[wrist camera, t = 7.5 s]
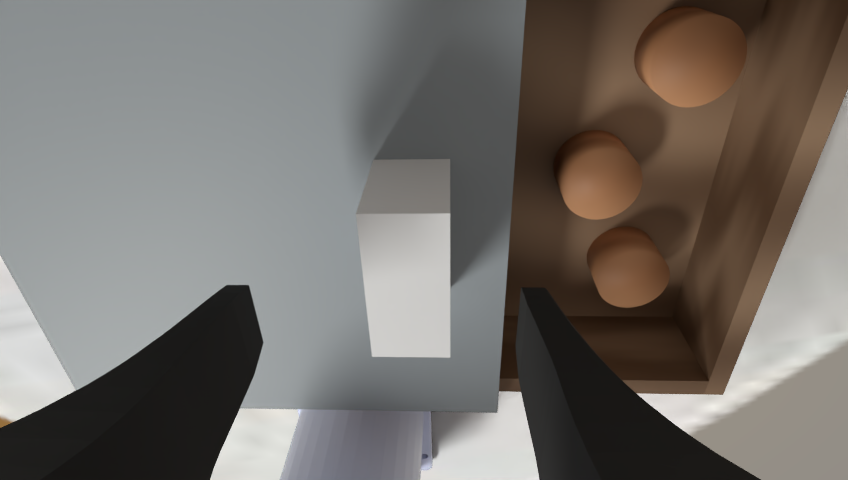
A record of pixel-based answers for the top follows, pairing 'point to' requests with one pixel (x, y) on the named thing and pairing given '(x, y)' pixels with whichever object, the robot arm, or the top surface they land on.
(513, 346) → the walnut box
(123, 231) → the lid
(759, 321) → the top surface
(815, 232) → the top surface
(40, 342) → the top surface
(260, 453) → the top surface
